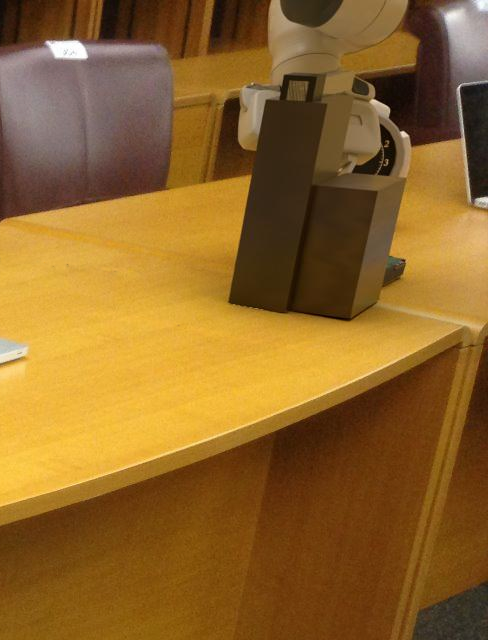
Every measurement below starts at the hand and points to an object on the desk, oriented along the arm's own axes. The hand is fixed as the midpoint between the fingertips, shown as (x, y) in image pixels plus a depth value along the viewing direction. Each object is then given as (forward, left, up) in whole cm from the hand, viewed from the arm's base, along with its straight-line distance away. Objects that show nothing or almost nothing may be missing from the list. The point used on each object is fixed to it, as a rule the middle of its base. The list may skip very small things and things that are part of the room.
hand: (311, 183), depth 209 cm
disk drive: (-3, -12, -14) cm, 19 cm away
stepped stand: (-5, +9, -14) cm, 17 cm away
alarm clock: (+9, -51, -14) cm, 53 cm away
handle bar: (-1, +8, +12) cm, 15 cm away
